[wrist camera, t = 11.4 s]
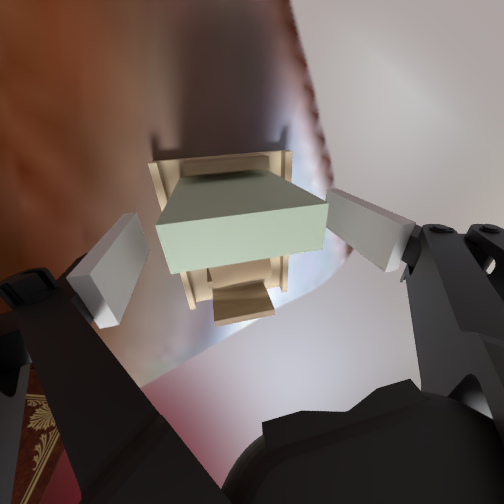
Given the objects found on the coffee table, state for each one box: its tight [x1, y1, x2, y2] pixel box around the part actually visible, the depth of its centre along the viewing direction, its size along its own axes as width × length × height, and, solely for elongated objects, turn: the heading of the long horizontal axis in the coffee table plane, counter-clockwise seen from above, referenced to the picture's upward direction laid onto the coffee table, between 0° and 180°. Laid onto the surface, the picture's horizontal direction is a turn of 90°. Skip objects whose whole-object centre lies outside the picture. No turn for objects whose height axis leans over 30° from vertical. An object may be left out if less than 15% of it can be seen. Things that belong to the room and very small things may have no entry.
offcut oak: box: [209, 258, 272, 289], centre depth 23 cm, size 4×7×3 cm
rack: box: [148, 150, 292, 327], centre depth 26 cm, size 20×15×7 cm
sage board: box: [155, 170, 329, 274], centre depth 18 cm, size 3×10×14 cm, turn 93°
